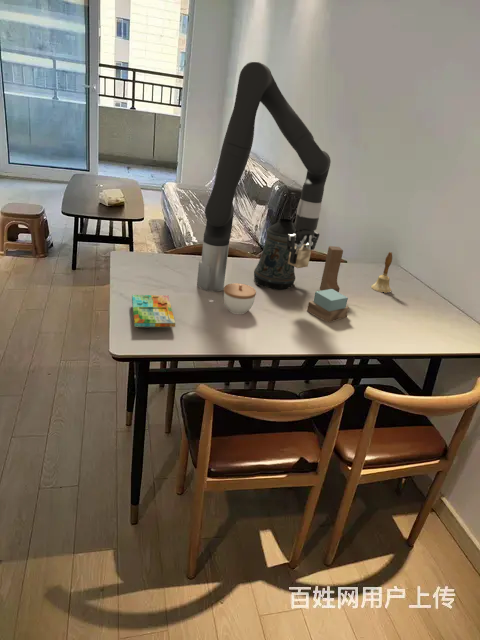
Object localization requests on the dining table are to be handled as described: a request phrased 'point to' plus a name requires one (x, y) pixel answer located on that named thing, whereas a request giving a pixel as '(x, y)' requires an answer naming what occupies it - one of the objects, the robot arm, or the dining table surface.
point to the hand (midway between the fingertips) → (298, 262)
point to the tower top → (330, 299)
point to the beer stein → (276, 258)
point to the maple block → (301, 258)
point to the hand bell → (384, 277)
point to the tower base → (326, 312)
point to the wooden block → (331, 269)
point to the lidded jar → (239, 297)
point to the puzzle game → (152, 311)
